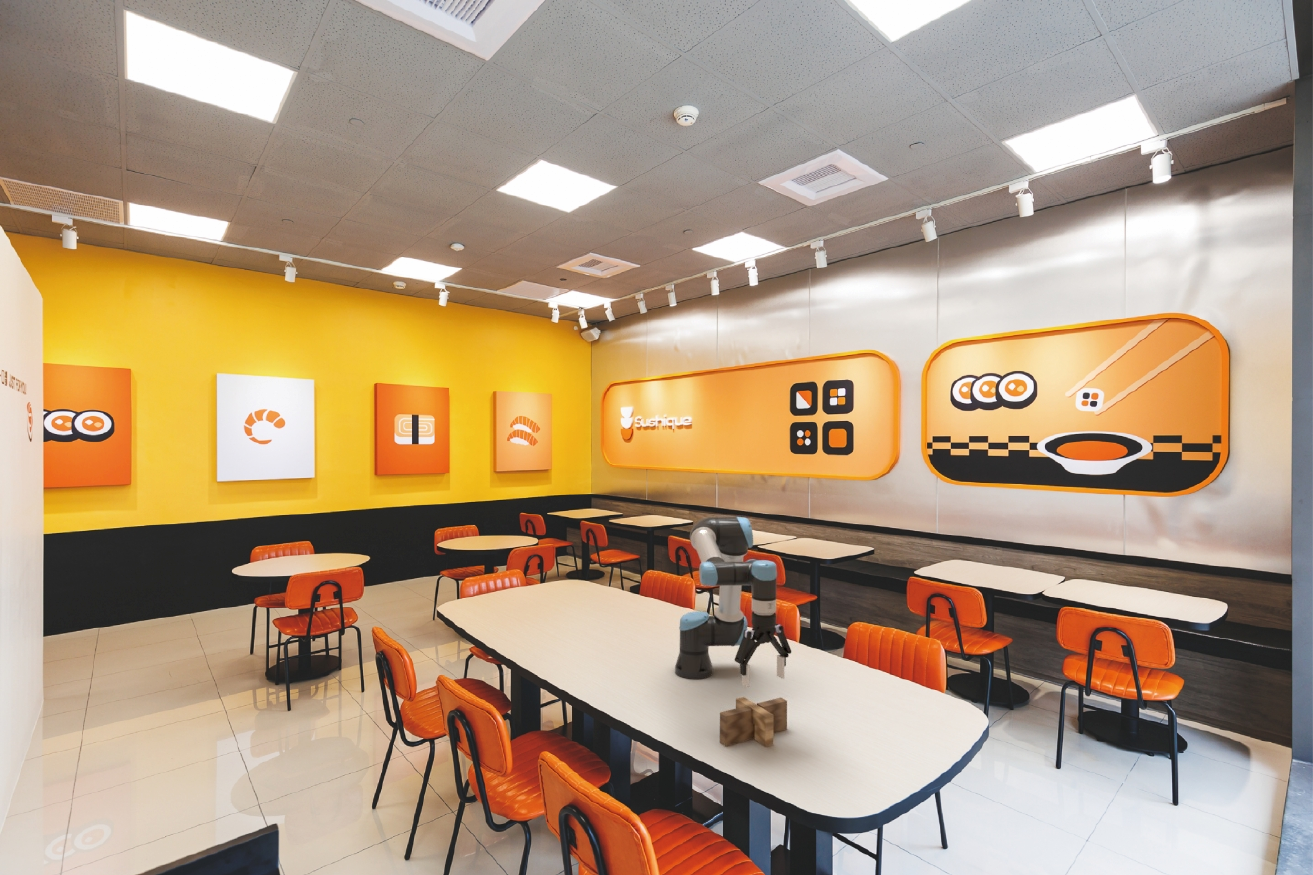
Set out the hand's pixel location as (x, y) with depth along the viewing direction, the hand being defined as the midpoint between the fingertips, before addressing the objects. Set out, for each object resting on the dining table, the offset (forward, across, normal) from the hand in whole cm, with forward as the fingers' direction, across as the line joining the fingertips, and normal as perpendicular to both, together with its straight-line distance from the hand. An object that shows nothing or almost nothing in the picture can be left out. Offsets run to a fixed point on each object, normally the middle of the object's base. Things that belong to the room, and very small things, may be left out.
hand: (763, 681), depth 186 cm
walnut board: (+18, 0, +4) cm, 19 cm away
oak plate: (+18, 0, +4) cm, 19 cm away
